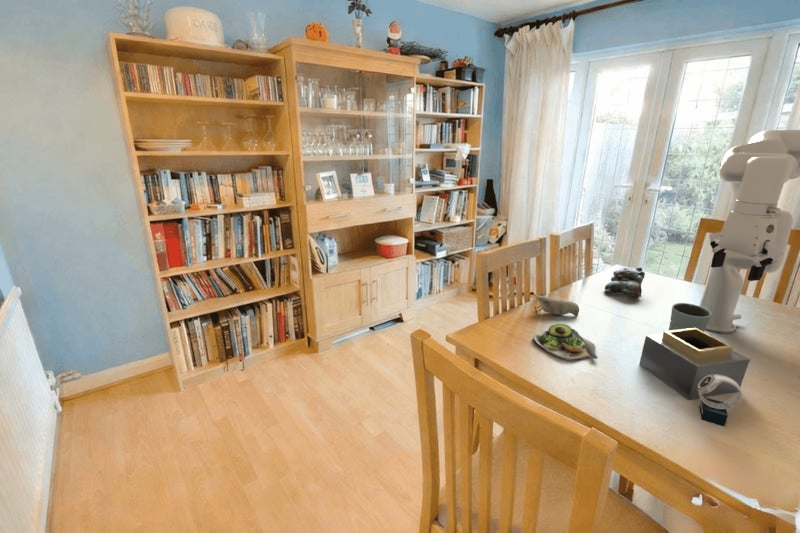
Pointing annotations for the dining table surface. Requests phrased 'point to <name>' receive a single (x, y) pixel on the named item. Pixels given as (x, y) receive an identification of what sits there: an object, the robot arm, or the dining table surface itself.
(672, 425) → the dining table surface
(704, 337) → the housing
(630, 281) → the dark grey lumpy piece
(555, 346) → the salad plate
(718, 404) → the watch
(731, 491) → the dining table surface
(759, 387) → the dining table surface
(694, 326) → the grey-green pot
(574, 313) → the decorative bird
